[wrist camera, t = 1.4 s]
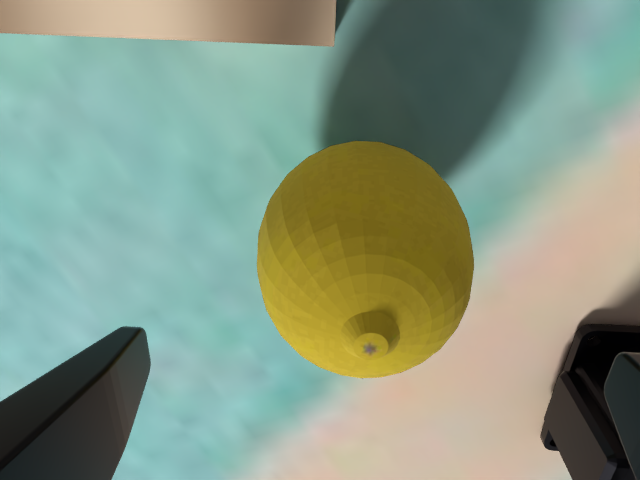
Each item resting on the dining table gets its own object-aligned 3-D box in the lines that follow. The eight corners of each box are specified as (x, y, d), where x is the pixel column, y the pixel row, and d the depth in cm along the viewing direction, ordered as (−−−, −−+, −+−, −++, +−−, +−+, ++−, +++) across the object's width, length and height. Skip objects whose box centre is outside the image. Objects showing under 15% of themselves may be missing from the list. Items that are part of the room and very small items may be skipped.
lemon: (257, 131, 16) (188, 251, 8) (429, 95, 15) (513, 192, 8) (297, 275, 18) (270, 461, 11) (447, 250, 17) (522, 431, 10)
